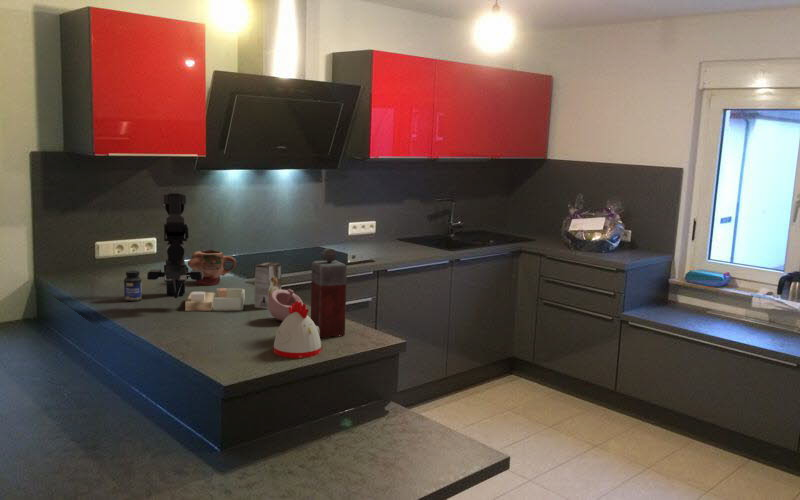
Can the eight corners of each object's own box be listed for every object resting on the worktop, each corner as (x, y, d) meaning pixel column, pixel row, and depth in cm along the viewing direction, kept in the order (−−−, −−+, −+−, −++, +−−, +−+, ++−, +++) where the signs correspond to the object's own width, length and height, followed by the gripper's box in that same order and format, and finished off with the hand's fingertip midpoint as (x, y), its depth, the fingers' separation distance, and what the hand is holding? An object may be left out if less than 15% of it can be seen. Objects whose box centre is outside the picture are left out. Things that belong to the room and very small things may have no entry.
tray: (212, 310, 246) (212, 298, 245) (216, 300, 262) (216, 288, 262) (242, 310, 248) (242, 298, 247) (244, 300, 264) (244, 288, 264)
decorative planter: (235, 280, 302) (235, 249, 300) (236, 285, 290) (236, 253, 288) (188, 280, 297) (188, 249, 295) (187, 286, 285) (186, 253, 283)
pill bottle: (125, 302, 253) (124, 273, 251) (123, 299, 258) (122, 270, 256) (142, 301, 255) (142, 272, 254) (140, 298, 261) (140, 269, 259)
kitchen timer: (294, 361, 192) (294, 309, 190) (264, 350, 201) (264, 300, 199) (330, 351, 202) (331, 302, 200) (300, 341, 211) (301, 294, 209)
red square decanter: (333, 327, 230) (335, 245, 226) (345, 335, 220) (347, 250, 216) (307, 329, 226) (309, 245, 222) (318, 338, 216) (320, 250, 212)
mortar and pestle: (286, 326, 228) (287, 293, 226) (260, 321, 234) (260, 288, 232) (309, 320, 238) (310, 287, 236) (283, 314, 244) (284, 283, 242)
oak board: (185, 310, 244) (185, 302, 244) (190, 300, 260) (190, 292, 260) (211, 310, 246) (211, 302, 245) (215, 300, 262) (215, 292, 262)
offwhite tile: (191, 301, 246) (191, 294, 246) (192, 298, 250) (192, 291, 250) (204, 301, 247) (204, 294, 247) (205, 298, 251) (205, 291, 251)
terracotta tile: (219, 290, 255) (226, 290, 256) (219, 288, 260) (226, 288, 260) (219, 302, 256) (225, 302, 257) (219, 299, 260) (226, 299, 261)
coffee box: (267, 302, 262) (267, 261, 259) (281, 304, 259) (282, 263, 257) (253, 307, 253) (254, 264, 251) (268, 309, 251) (269, 266, 248)
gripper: (144, 258, 235) (144, 303, 238) (200, 259, 239) (200, 303, 241) (149, 253, 246) (150, 296, 248) (203, 254, 250) (203, 296, 252)
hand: (175, 298), depth 247 cm, fingers closed
